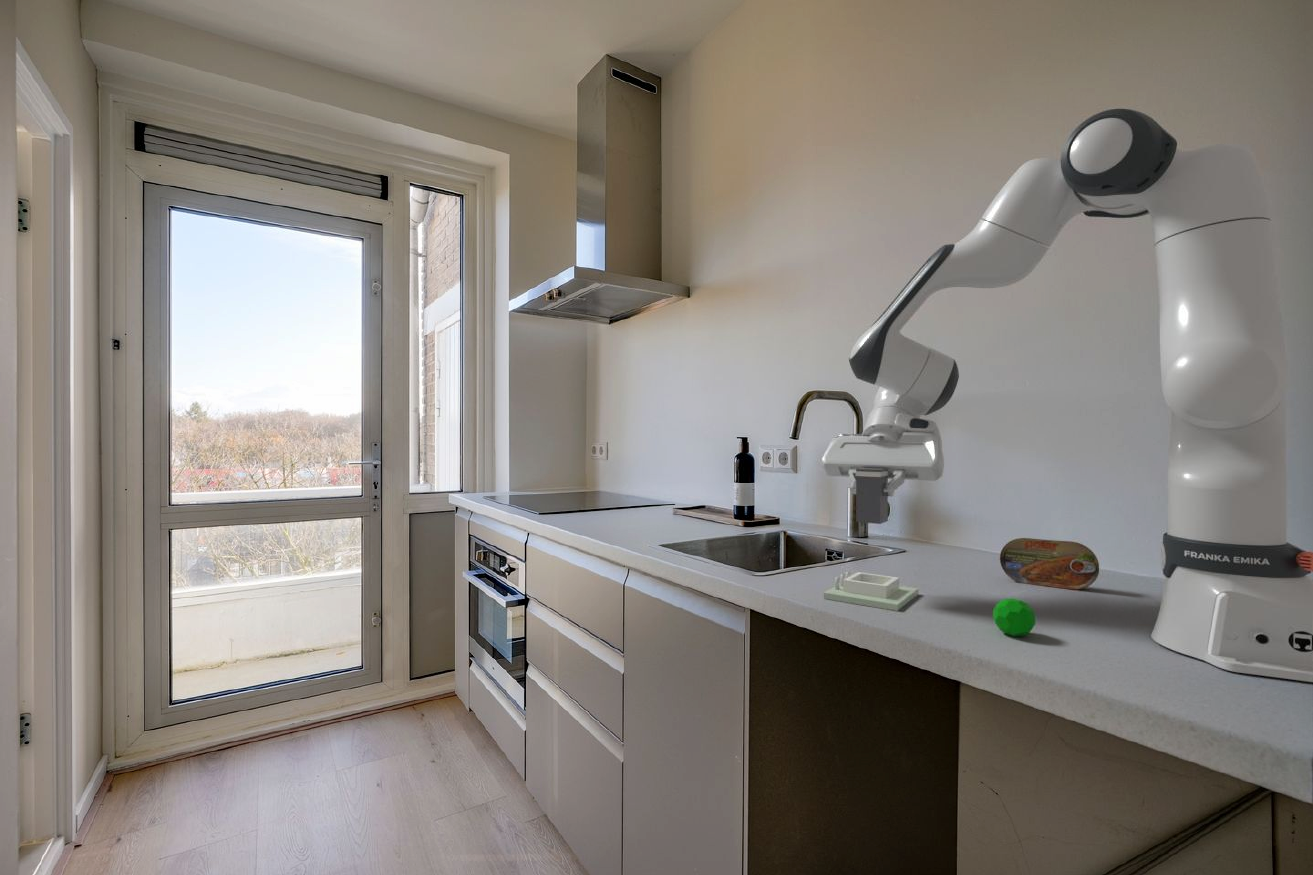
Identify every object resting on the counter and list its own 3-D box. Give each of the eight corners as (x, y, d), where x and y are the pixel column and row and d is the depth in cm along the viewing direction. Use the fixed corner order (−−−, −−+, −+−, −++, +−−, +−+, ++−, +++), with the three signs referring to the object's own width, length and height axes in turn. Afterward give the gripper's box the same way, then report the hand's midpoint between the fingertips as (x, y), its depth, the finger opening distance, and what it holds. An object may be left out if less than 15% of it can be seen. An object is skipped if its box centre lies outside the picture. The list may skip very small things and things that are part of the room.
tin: (999, 580, 113) (999, 535, 113) (1002, 577, 115) (1002, 533, 115) (1099, 593, 103) (1098, 544, 103) (1100, 589, 106) (1100, 542, 106)
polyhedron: (1000, 626, 87) (1000, 593, 87) (1039, 634, 83) (1039, 599, 83) (988, 634, 83) (987, 599, 83) (1028, 643, 80) (1028, 607, 80)
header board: (918, 594, 104) (918, 576, 104) (897, 611, 94) (897, 591, 94) (849, 583, 111) (849, 567, 111) (823, 598, 102) (823, 580, 102)
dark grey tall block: (888, 521, 103) (888, 468, 103) (880, 524, 100) (880, 469, 100) (864, 518, 106) (864, 467, 105) (855, 521, 102) (855, 468, 102)
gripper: (829, 423, 114) (807, 477, 107) (945, 421, 102) (930, 484, 94) (838, 446, 118) (817, 500, 110) (951, 447, 105) (937, 509, 98)
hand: (870, 493), depth 102 cm, fingers closed on dark grey tall block, 4 cm apart
